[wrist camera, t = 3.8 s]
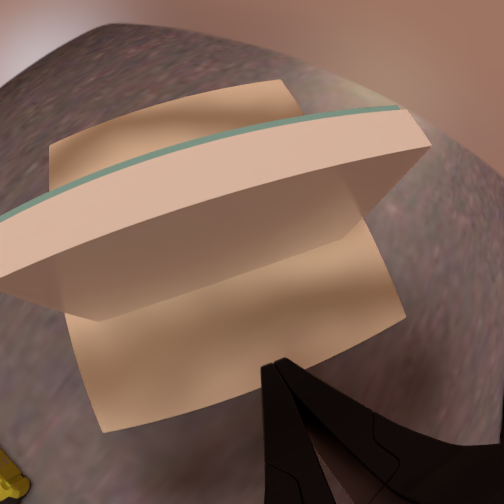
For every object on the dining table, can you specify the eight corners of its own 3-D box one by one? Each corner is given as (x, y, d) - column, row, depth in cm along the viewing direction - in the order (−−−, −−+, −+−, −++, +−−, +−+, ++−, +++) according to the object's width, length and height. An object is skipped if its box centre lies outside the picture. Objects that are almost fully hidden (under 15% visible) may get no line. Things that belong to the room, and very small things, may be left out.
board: (399, 318, 16) (406, 317, 16) (108, 429, 13) (102, 433, 12) (278, 86, 21) (280, 79, 20) (53, 151, 18) (49, 145, 17)
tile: (341, 238, 17) (431, 145, 8) (99, 322, 14) (-17, 285, 5) (327, 209, 17) (401, 103, 9) (91, 288, 14) (-18, 223, 6)
